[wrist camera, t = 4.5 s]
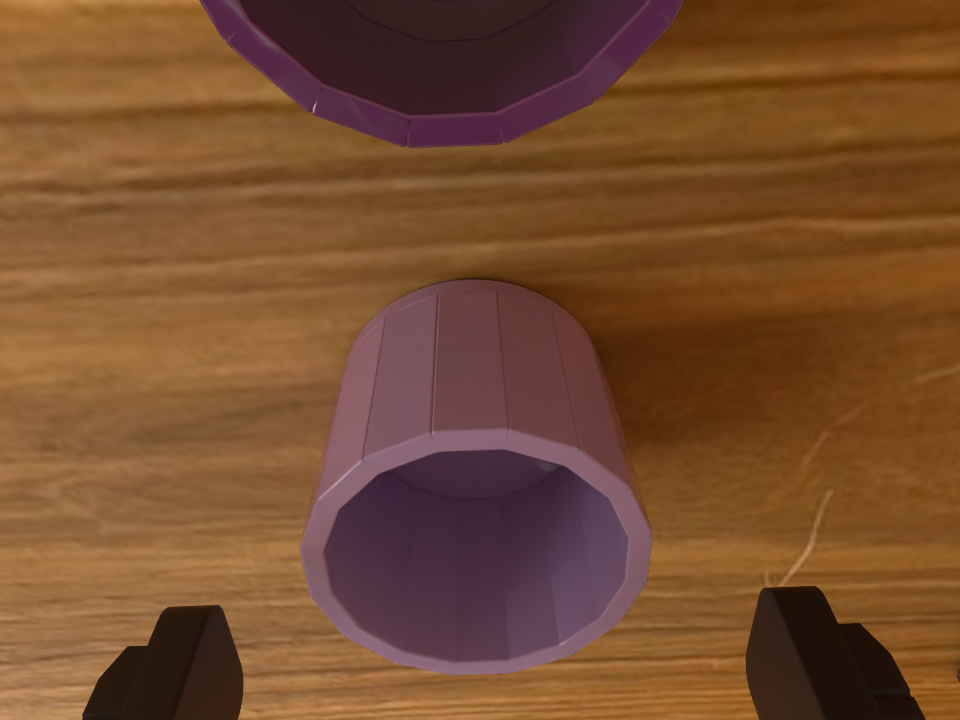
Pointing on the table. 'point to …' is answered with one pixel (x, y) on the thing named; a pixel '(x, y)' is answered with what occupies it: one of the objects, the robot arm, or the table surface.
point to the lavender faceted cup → (475, 487)
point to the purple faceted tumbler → (442, 60)
